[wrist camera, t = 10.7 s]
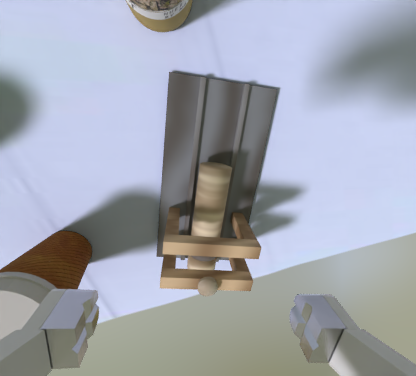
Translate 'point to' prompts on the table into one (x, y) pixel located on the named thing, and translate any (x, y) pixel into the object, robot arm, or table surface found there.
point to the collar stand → (189, 170)
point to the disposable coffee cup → (40, 276)
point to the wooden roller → (209, 208)
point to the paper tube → (160, 13)
